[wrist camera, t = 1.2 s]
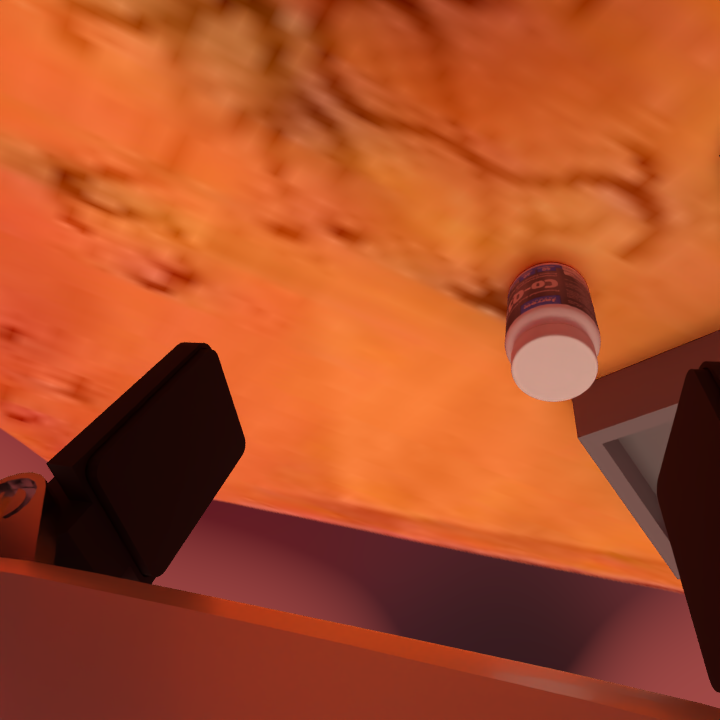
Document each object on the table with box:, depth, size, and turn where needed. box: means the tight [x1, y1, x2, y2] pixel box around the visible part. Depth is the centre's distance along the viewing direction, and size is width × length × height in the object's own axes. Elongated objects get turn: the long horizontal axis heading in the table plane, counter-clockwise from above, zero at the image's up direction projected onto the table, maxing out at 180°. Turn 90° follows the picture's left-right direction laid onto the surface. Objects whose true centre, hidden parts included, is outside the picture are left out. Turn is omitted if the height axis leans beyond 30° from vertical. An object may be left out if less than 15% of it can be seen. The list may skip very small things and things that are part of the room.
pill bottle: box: [505, 263, 601, 402], centre depth 27 cm, size 5×5×8 cm
